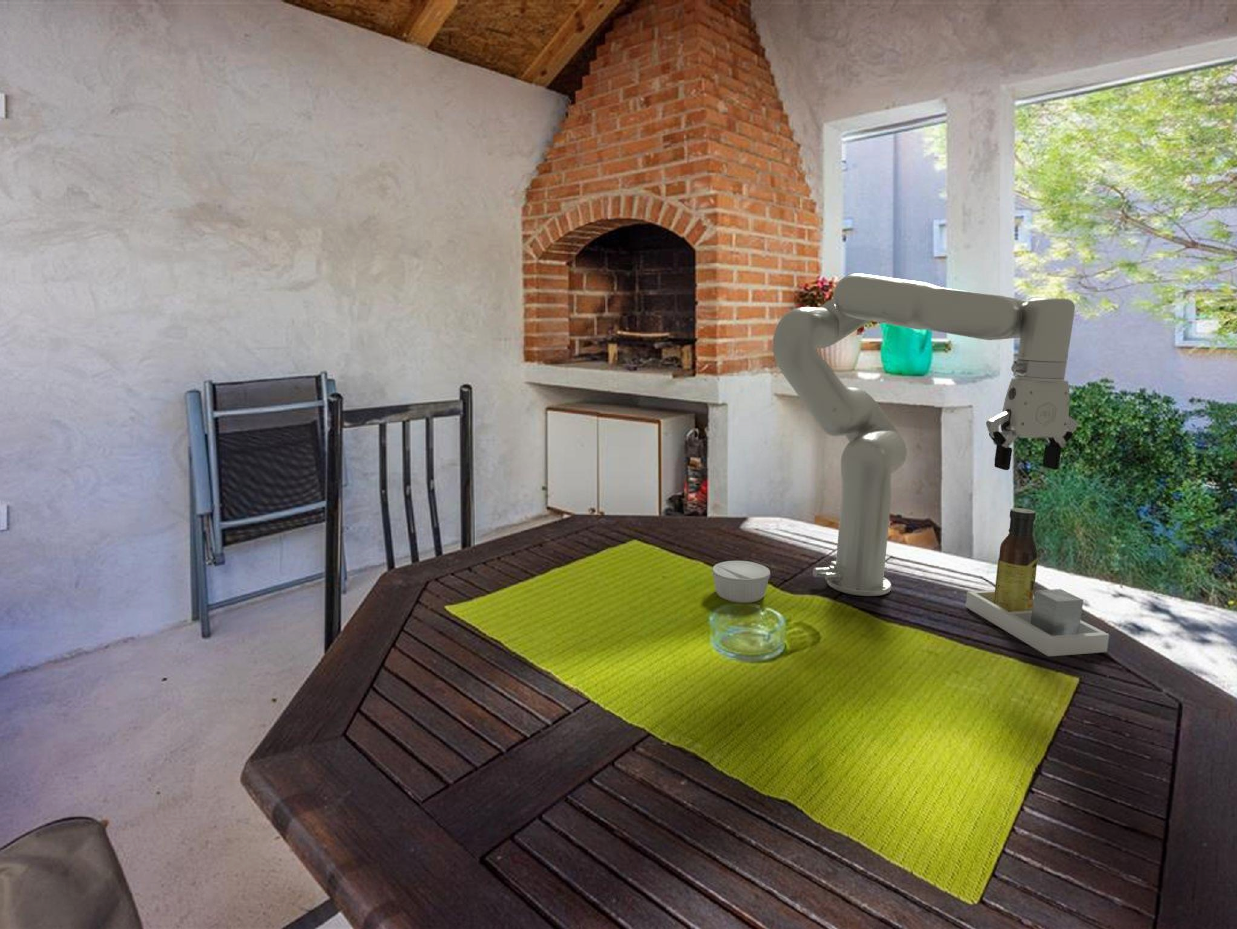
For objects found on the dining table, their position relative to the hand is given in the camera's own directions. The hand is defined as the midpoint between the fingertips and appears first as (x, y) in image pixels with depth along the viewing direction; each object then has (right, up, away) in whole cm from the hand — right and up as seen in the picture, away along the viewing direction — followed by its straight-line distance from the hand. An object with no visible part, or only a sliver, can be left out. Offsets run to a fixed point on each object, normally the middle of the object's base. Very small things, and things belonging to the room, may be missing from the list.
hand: (1026, 468), depth 132 cm
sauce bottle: (0, -27, +4) cm, 28 cm away
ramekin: (-48, -25, +15) cm, 57 cm away
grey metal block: (+2, -29, -5) cm, 30 cm away
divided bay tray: (+1, -29, 0) cm, 29 cm away
